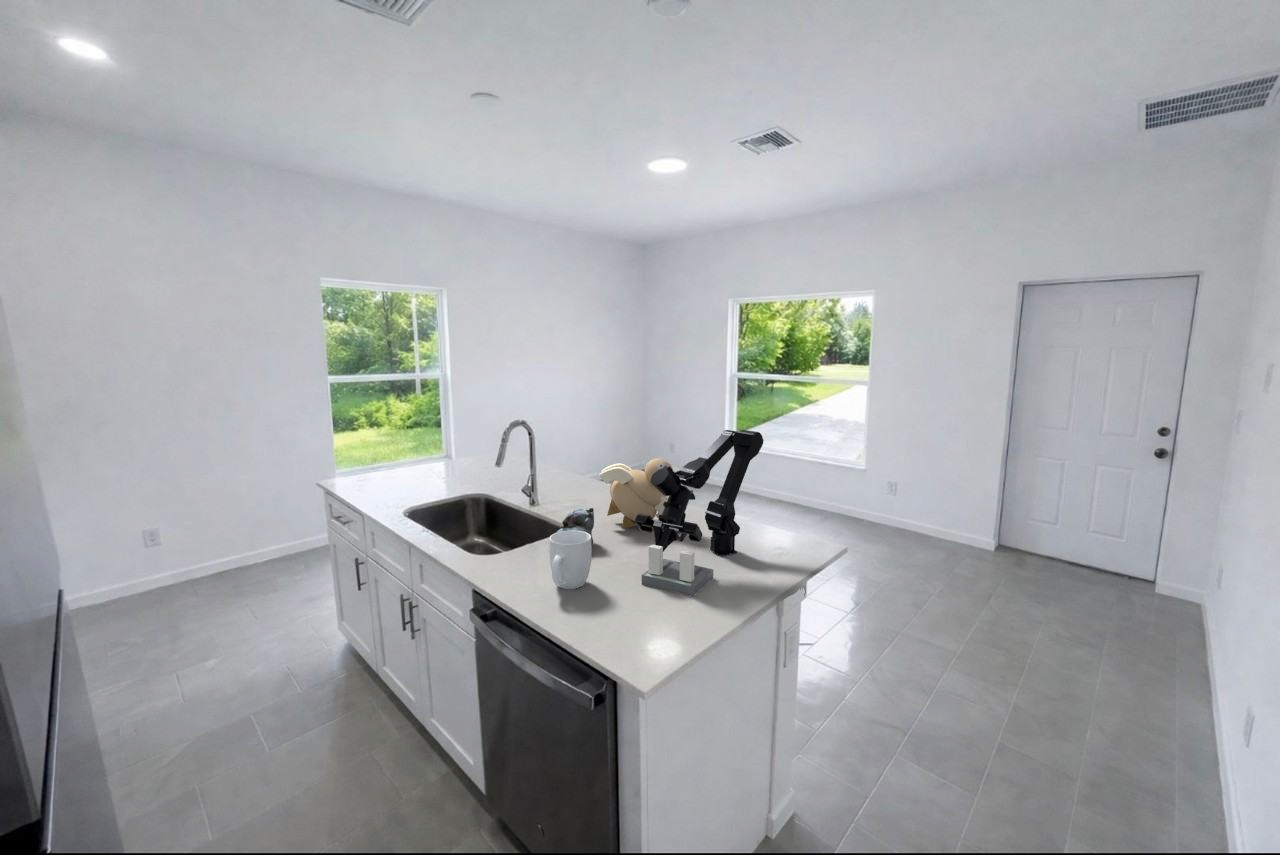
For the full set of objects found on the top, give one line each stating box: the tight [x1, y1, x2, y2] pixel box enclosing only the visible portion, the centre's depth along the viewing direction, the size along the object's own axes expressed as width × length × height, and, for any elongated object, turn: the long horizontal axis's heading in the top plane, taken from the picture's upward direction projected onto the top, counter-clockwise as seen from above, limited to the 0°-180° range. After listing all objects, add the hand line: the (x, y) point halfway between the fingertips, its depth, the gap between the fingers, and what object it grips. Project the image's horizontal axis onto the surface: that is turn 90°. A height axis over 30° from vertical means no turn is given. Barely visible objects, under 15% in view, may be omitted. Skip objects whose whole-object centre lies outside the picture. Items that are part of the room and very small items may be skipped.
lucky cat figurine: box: [555, 507, 595, 547], centre depth 171 cm, size 15×12×14 cm
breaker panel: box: [641, 558, 714, 597], centre depth 145 cm, size 13×15×3 cm
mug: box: [548, 530, 593, 590], centre depth 140 cm, size 15×11×13 cm
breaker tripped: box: [648, 544, 664, 575], centre depth 142 cm, size 2×3×7 cm, turn 60°
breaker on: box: [679, 550, 696, 582], centre depth 138 cm, size 2×3×7 cm, turn 60°
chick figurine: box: [598, 457, 674, 529], centre depth 191 cm, size 30×28×23 cm
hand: (657, 555), depth 144 cm, fingers closed, pressing on breaker tripped
